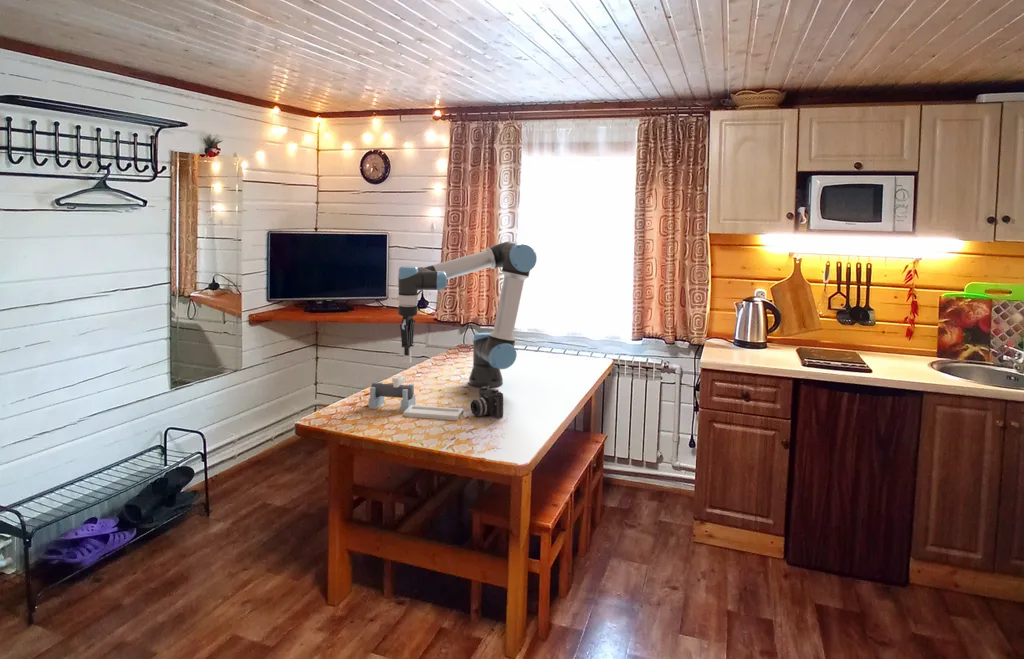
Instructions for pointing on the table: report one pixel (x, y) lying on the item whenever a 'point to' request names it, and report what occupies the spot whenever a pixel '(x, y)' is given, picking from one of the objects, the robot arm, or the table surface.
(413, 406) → the tray
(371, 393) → the cradle
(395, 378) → the white l-shaped hook
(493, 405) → the camera
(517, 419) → the table surface
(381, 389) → the gray cylinder
